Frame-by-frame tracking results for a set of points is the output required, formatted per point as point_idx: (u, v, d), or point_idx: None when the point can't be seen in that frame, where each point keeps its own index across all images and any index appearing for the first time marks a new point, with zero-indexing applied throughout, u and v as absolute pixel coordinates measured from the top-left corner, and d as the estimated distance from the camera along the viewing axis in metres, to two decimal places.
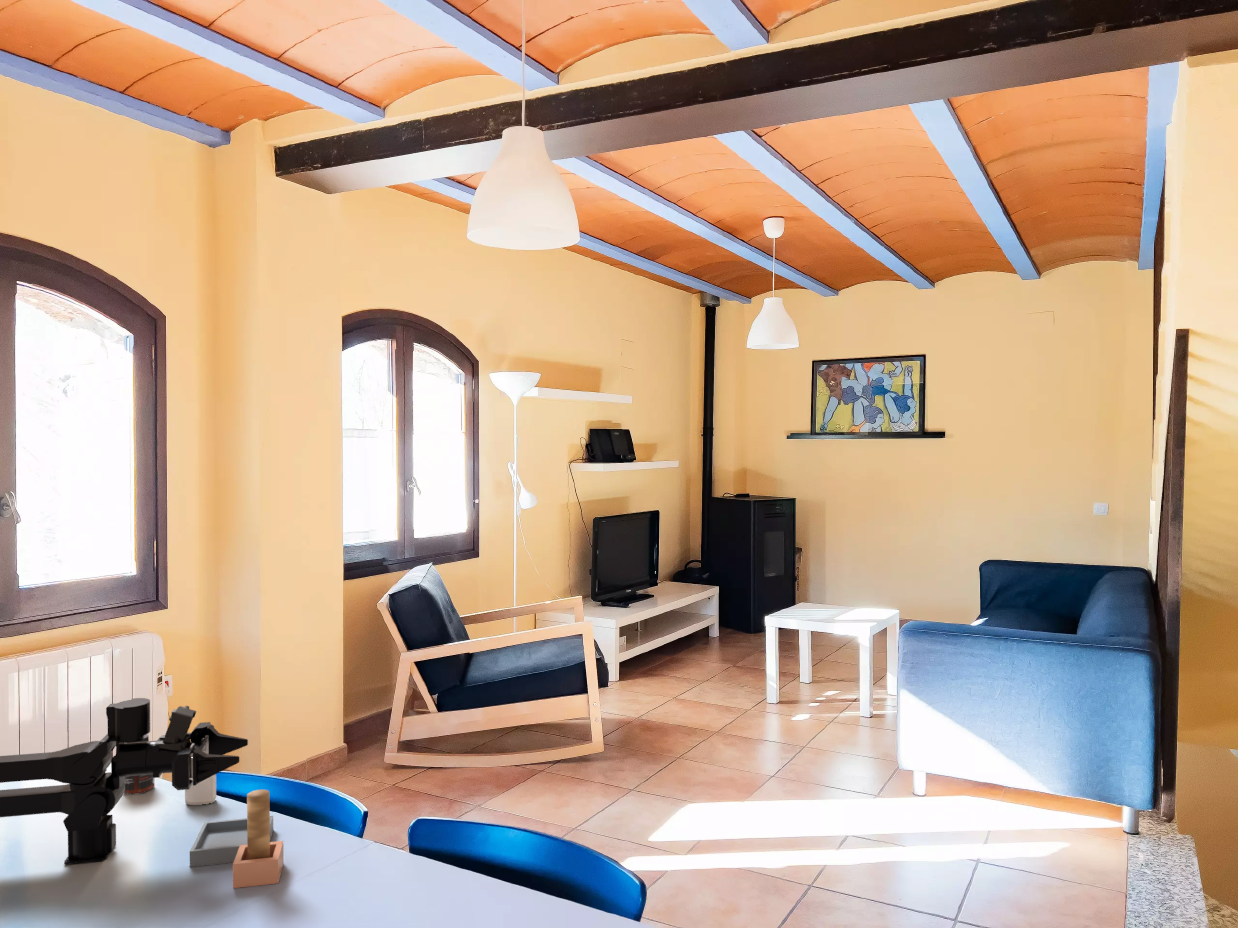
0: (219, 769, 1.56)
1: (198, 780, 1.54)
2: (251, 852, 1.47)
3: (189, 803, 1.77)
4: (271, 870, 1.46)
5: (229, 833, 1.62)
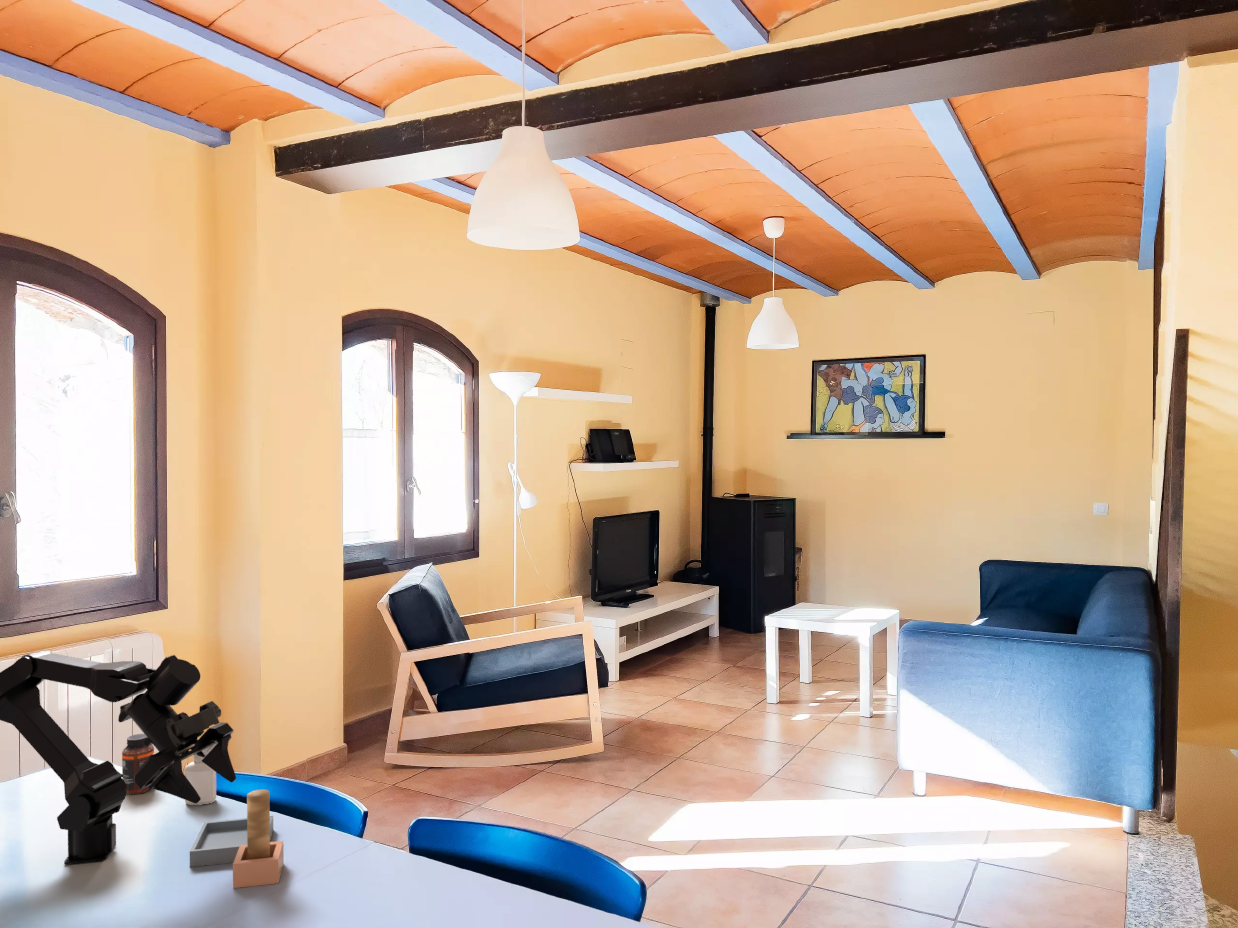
0: (177, 794, 1.45)
1: (156, 787, 1.45)
2: (251, 852, 1.47)
3: (189, 803, 1.77)
4: (271, 870, 1.46)
5: (229, 833, 1.62)
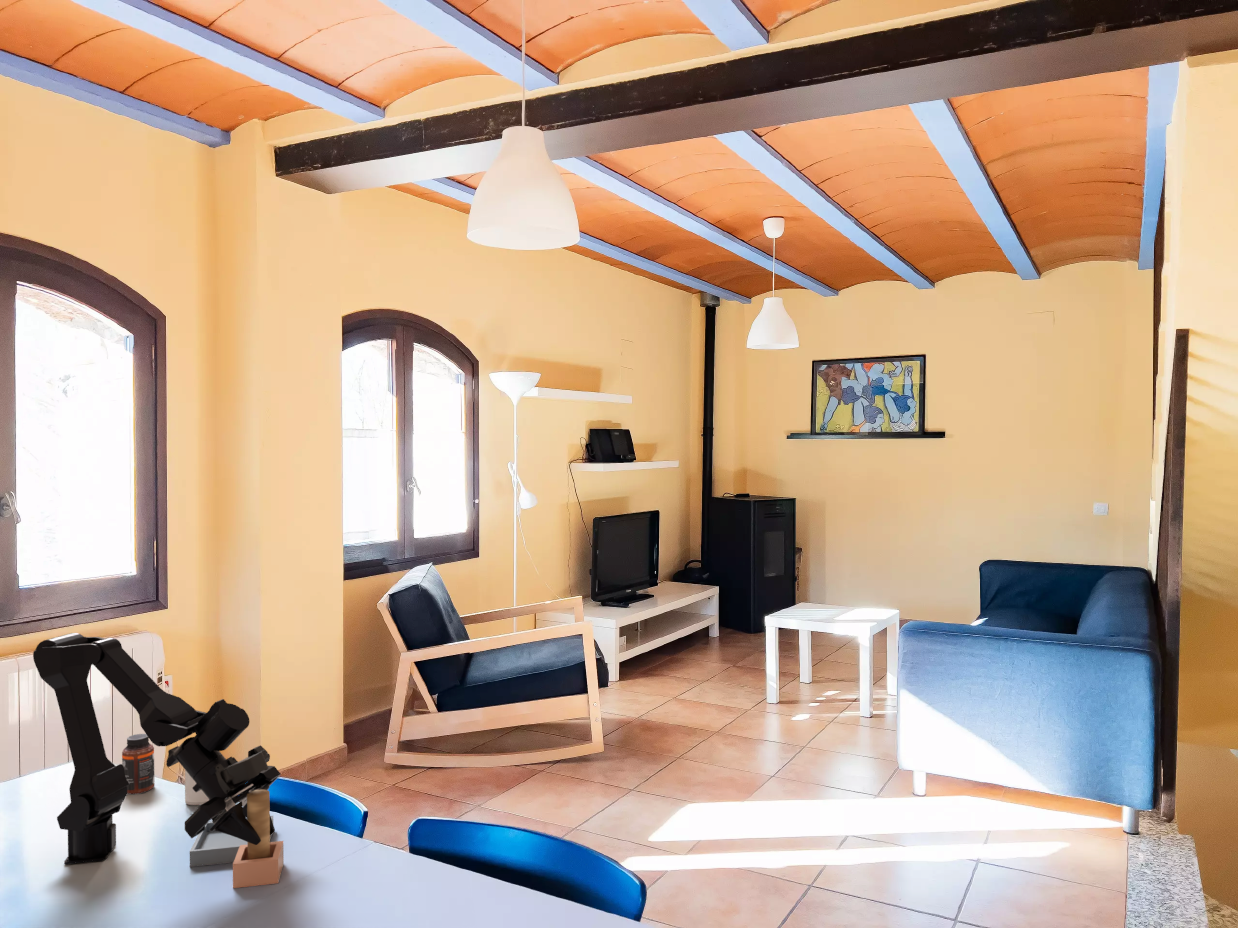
0: (238, 835, 1.46)
1: (217, 828, 1.46)
2: (251, 852, 1.47)
3: (189, 803, 1.77)
4: (271, 870, 1.46)
5: None
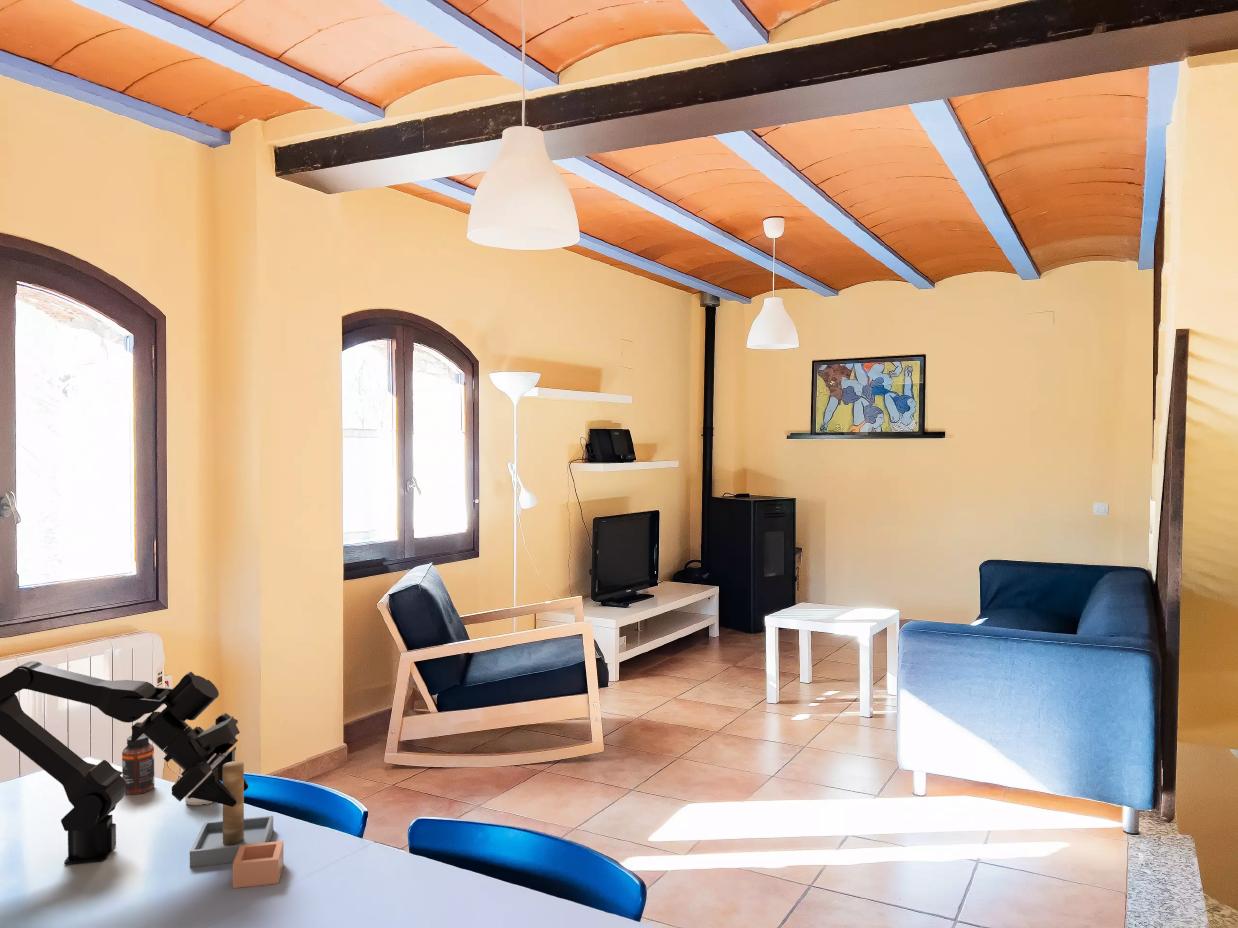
0: (215, 799, 1.54)
1: (193, 795, 1.52)
2: (229, 819, 1.57)
3: (189, 803, 1.77)
4: (271, 870, 1.46)
5: None
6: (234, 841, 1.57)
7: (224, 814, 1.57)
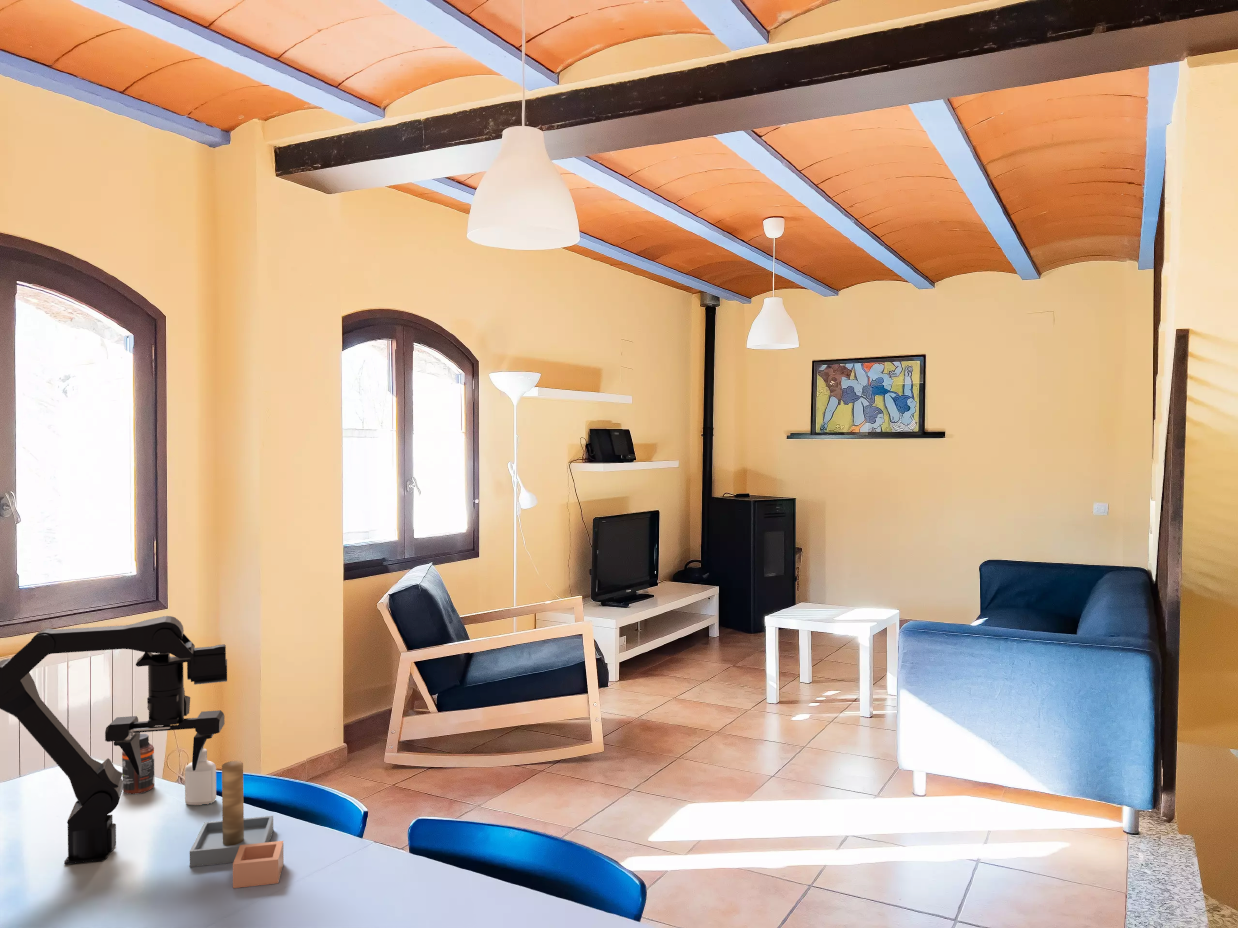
0: (199, 754, 1.61)
1: (204, 739, 1.60)
2: (229, 819, 1.57)
3: (189, 803, 1.77)
4: (271, 870, 1.46)
5: None
6: (234, 841, 1.57)
7: (224, 814, 1.57)
